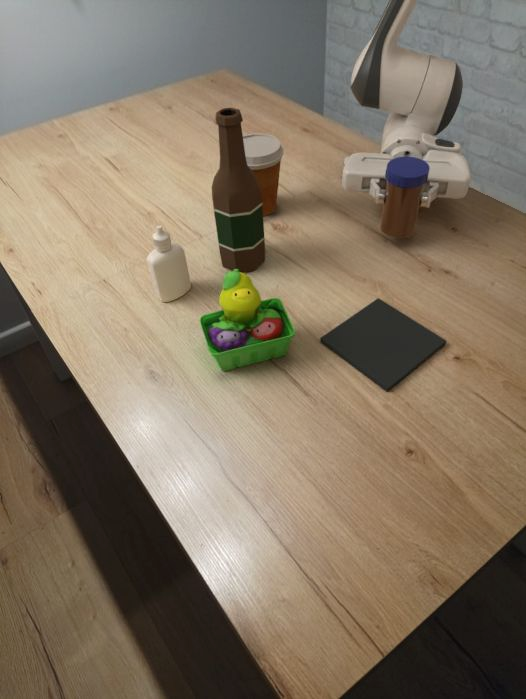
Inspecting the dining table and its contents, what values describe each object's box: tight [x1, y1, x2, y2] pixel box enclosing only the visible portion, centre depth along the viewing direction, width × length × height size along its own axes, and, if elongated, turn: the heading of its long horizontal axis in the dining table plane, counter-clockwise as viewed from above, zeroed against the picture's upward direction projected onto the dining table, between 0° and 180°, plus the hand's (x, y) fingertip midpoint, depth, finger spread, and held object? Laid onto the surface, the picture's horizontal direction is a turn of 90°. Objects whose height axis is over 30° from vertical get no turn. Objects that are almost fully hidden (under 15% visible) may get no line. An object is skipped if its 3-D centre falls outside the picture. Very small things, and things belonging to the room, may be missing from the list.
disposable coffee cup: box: [242, 132, 285, 217], centre depth 91 cm, size 10×10×12 cm
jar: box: [380, 181, 424, 239], centre depth 81 cm, size 6×6×10 cm
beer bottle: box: [211, 107, 266, 273], centre depth 76 cm, size 8×8×24 cm
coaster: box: [319, 297, 447, 393], centre depth 70 cm, size 12×12×1 cm
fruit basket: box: [199, 269, 296, 372], centre depth 67 cm, size 11×9×11 cm
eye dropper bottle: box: [146, 225, 192, 303], centre depth 76 cm, size 4×6×12 cm
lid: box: [385, 157, 430, 188], centre depth 78 cm, size 6×6×2 cm
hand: (402, 201), depth 80 cm, fingers closed on jar, 5 cm apart
